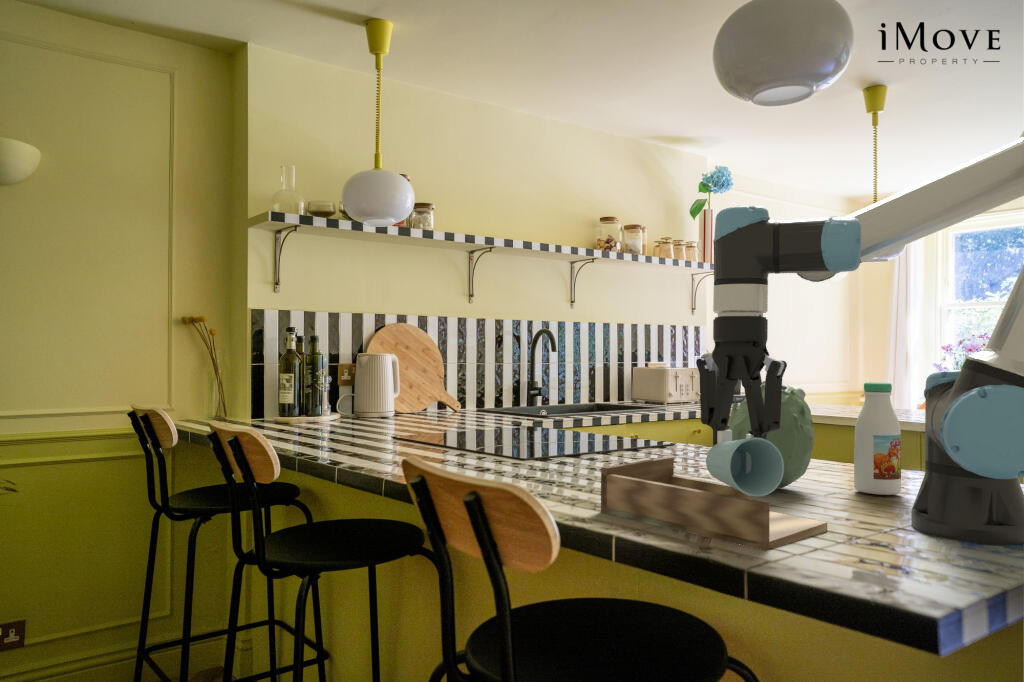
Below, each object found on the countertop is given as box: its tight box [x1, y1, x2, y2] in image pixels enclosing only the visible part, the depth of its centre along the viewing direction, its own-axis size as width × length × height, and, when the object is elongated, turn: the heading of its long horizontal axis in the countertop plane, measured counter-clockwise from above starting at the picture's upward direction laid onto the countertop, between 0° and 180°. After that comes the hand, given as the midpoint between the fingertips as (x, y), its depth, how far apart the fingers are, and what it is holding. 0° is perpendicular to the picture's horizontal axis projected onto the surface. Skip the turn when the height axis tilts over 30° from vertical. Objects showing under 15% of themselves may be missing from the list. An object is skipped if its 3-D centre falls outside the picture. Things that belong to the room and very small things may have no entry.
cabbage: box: [726, 380, 816, 489], centre depth 137 cm, size 16×19×20 cm
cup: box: [705, 437, 784, 498], centre depth 101 cm, size 8×8×10 cm
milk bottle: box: [853, 381, 902, 496], centre depth 134 cm, size 8×8×20 cm
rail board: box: [600, 456, 828, 551], centre depth 110 cm, size 28×17×8 cm, turn 41°
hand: (738, 476), depth 106 cm, fingers closed on cup, 4 cm apart
